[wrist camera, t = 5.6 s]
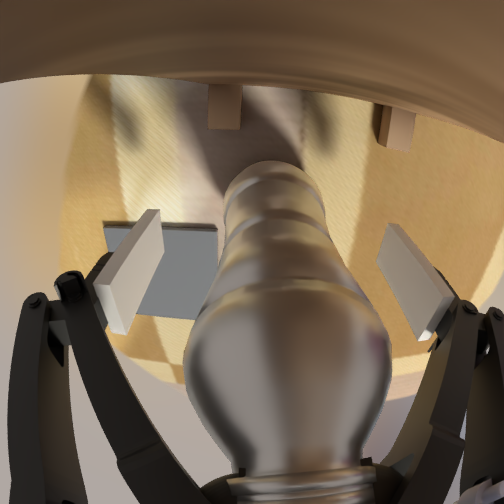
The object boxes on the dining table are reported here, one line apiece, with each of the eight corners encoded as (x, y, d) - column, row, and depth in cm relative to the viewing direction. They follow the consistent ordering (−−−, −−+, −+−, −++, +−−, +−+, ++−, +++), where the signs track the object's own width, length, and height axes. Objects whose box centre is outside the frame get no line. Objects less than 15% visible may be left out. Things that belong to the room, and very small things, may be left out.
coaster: (105, 225, 22) (103, 228, 21) (217, 229, 22) (216, 232, 21) (127, 309, 27) (126, 312, 27) (219, 318, 27) (219, 321, 27)
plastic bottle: (284, 248, 23) (315, 531, 6) (210, 207, 21) (129, 522, 4) (333, 185, 20) (479, 484, 3) (255, 135, 18) (250, 578, 1)
